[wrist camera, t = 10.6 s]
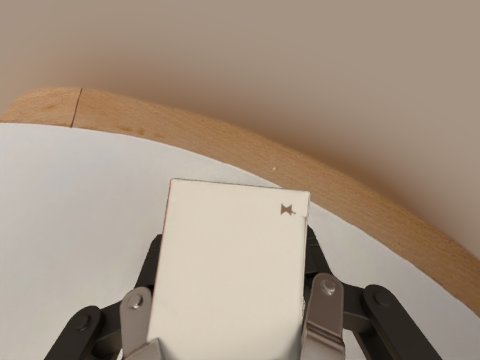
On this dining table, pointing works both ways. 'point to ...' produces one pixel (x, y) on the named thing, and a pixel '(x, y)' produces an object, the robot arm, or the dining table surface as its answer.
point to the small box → (230, 272)
